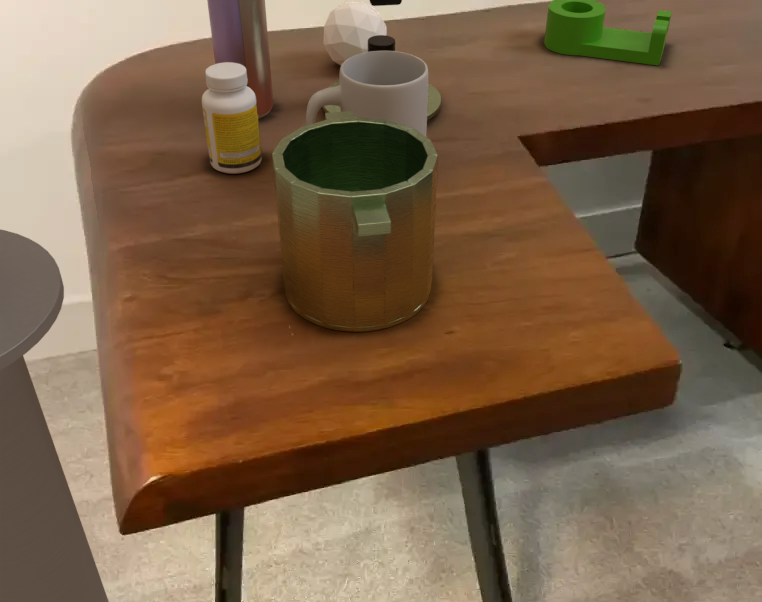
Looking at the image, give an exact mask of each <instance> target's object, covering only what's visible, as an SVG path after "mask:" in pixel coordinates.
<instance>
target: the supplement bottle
mask: <svg viewBox="0 0 762 602" xmlns="http://www.w3.org/2000/svg"><path fill="white" fill-rule="evenodd" d="M204 73H205V82H206V87H207V88H208V89H206V90H205V91H204V92H203V94H202V96H201V107H202V115H203V121H204V129H205V137H206V145H207V151H208V158H209V163H210V166H211V167H212V168H213V169H215V170H216V171H218V172H220V173H224V174H233V175H234V174H237V175H238V174H244V173H247V172H250V171H252V170H254V169H256V168H257V167H259V166H260V165H261V162H262V159H263V157H262V155H263V153H262V144H261V133H260V124H259V119H258V111H257V102H256V96H255V93H254V92H253V90H252V89H250V88H249V87H247V86H246V85H247V81H248V79H247V71H246V68H245V67H244V66H243V65H241V64H238V63H233V62H224V63H217V64H215V63H214V64H211V65H210V66H208V67H207V68H206V69H205V72H204Z"/></svg>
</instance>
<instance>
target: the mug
mask: <svg viewBox="0 0 762 602" xmlns="http://www.w3.org/2000/svg"><path fill="white" fill-rule="evenodd" d="M339 67H340V68H339V77H338V78H339V79H338V81H339V85H338V86H335V87H330V88H328V87H327V88H322V89H320V90H318V91H316V92H314V93H313V94H312V95H311V97H310V98H309V100H308V102H307V106H306V111H305V126H307V125H310V124H314V123H317V117H318V116H317V115H318V113H319V111H320V110H321V109H322V107H323V106H326V105H336V106H339V107H340V109H341V112H344V111H353V113H354V116H355V117H363V118H373V119H383V120H390V121H393V122H396V123H399V124H403V125H406V126H409V127H412V128H414V129H416V130H417V131H418V132H420V133H421V134H423V135H424V136H426V137H427V133H428V131H427V130H428V126H427V125H428V120H427V103H428V83H429V67H428V65H427V63H426V62H425V61H424V60H423V59H422V58H420V57H418V56H416V55H414V54H411V53H408V52H402V51H397V50H395V51H371V52H365V53H361V54H357V55H354V56H352V57H350V58H348V59H347V60H345V61H344V62H343V63H342V65H340V66H339Z"/></svg>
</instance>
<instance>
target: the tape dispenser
mask: <svg viewBox="0 0 762 602" xmlns="http://www.w3.org/2000/svg"><path fill="white" fill-rule="evenodd" d="M606 11H607V8H606V6H605V4H603V3H602V2H599V1H598V0H552V1H550V2H549V3H548V6H547V14H546V23H545V31H544V40H543V44H544V45H543V46H544V47H545V48H546V49H548V50H549V51H552V52H553V53H557V54H561V55H567V56H581V57H589V58H595V59H596V58H597V59H603V60H604V59H605V60H611V61H612V60H613V61H620V62H627V63H635V64H643V65H650V66H651V65H652V66H656V67H657V66H660V64H661V60H662V58H663V54H664V50H665V46H666V42H667V38H668V33H669V27H670V24H671V18H672V14H673V11H671V10H664V9H663V10H661V9H658V11H657V14H656V18H655V20H654V24H653V27H652V32H647V31H639V30H629V29H622V28H613V27H606V26H605V27H604V23H605V19H606V18H605V17H606Z"/></svg>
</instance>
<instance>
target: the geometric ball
mask: <svg viewBox="0 0 762 602" xmlns="http://www.w3.org/2000/svg"><path fill="white" fill-rule="evenodd" d="M387 28H388V26H387V25H386V23H385V21H384V19H383V17H382V16H381V14H380V13H379V11H378V10H377V9H376V8H374V7H373V6H372V5H371V4H369V3H367V2H364V1H359V0H358V1H357V0H345V1H344V2H342V3H341V4H339V5H338V6H337V7H334V9H332V10H331V11H330V12H329V14H328V16H327V19H326V21H325V23H324V25H323V37H322V38H323V39H322V45H323V47H324V49H325V50H326V52H327V54H328V55H329V57H330V58H331V59H330V60H331V61H332V62H334V63H336V64H337V65H340V66H341V65H342V63H343V62H344V61H345V60H347V59H348V58H350V57H352V56H354V55H357V54H361V53H365V52H368V39H369V38H370V37H373V36H377V35H386V36H388V35H387V34H388V33H387V31H388V29H387Z"/></svg>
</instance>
